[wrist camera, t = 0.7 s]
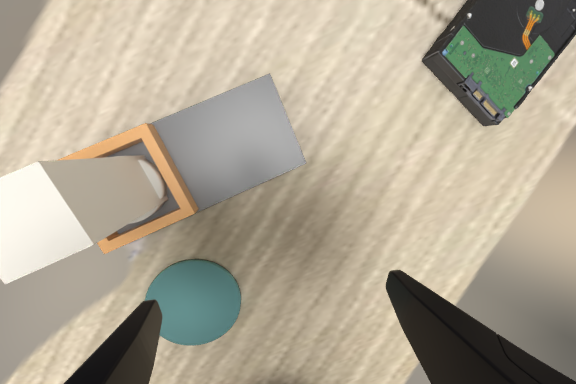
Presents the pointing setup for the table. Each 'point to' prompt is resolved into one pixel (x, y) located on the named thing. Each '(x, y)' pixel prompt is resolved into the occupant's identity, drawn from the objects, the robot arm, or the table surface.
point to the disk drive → (500, 52)
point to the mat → (195, 301)
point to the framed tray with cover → (207, 153)
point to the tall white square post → (71, 207)
